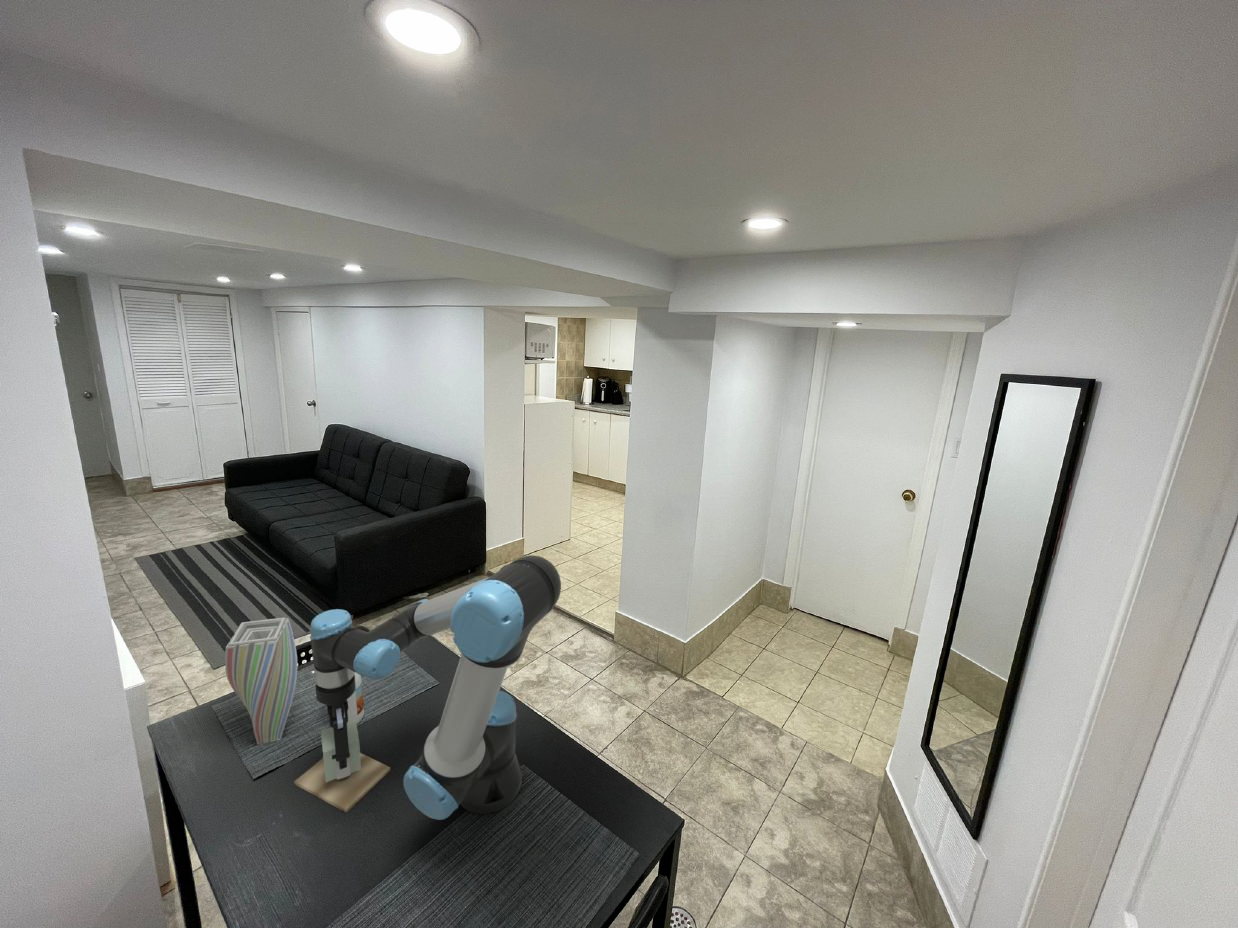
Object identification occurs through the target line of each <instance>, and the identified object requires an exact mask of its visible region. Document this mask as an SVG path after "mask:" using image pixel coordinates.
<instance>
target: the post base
mask: <svg viewBox="0 0 1238 928" xmlns="http://www.w3.org/2000/svg"><path fill="white" fill-rule="evenodd" d="M360 760H361V770H358V771H355V772H353V773H351V775H349V776H347V777H344V778H341V779H338V780H337V778H336V779H334V780H331V781H328V782H326V781H325V770H324V759H323V757H322V758H320V760H318V762H316V763H315V764H314V765H312V766H311V767H310V768H308V769H307V770H306V771H305V772H304V773H303V774H301V775H300V776H299V777H298V778H297V779H296V780H294V781H293V782H294V785H295V786H297V787H298V788H300V789H302V790H304V791H306V792H308V793H310V794H312V795H313V796H314V797H317V798H319V799H320V800H322V801H325V802H326V803H327V804H329V805H331V806H333V807H335V808H336V809H338V810H340V811H342V812H343V813H346V814H347V813H348V812H349V811H350V810H351V809H352V808H353V807H354V806H355V805H356V804H357V803H358V802H359V801H360V800H361V799H362V798H363V797H364V796H366V794H368V793H369V791H370V790H372V789H373V788H374V787H375V786H376V785H377V784H378V783H379V782H380V781H381V780H382V779H383V778H384V777H385V776H386V775H387V774H388V773H389V772H390V771H391V767H390V766H388V765H386V764H384V763H382V762H380V761H378V760H376V759H373V758H372V757H370V756H367V755H366V754H363V753H362V752H360Z"/></svg>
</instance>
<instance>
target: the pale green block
mask: <svg viewBox="0 0 1238 928" xmlns="http://www.w3.org/2000/svg"><path fill="white" fill-rule="evenodd" d="M357 725H358V724H356V720H353V721H350V722H347V733H348V745H349V753H350V757H349V759H350V772H351V773H353V772H355V771H358V770H361V760H360V753H361V749H360V738H359V732H358V727H357ZM320 736H321V745H322V747H321V748H322V754H323V755H322V758H323V759H324V770H325V781H326V782H328V781H331V780H334V779H336V778H337V776H336V763H335V759H333V760H332V755H335V754H336V752H335V742H334V731H333V727H331V726H330V727H329V728H325V729H323V730H322V729H321V730H320Z"/></svg>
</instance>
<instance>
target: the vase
mask: <svg viewBox="0 0 1238 928" xmlns="http://www.w3.org/2000/svg"><path fill="white" fill-rule="evenodd" d="M297 653H298V652H297V646H296V640H295V637H294V632H293V628H292V625H291V622H290V619H289V617H288V618H287V617H278V618H277V617H276V618H270V619H261V620H252V621H243V622H241V623H240V624H239V626H238V628H237V629H236V631H235V632H234V635H232V637H231V638H230V640H229V642H228V643H227V645H226V646H225V652H224V666H225V668H224V669H225V674H226V679H227V681H228V684H229V686H230V688H232V690H233V691H234V693H235V695H236V696H237V697H238V698H239V700H240V701H241V702H242V703H243V704H244V707H245V708H246V710H247V712H248V714H249V717H250V720H251V723H252V724H251V725H252V727H253V728H252V729H253V734H254V737H255V739H256V745H261V744H267V743H269V742H270V743H272V742H275V741H277V742H278V741H281V740H282V736H283V735H284V731H285V728H286V723H287V719H288V716H289V715H290V710H291V707H292V703H293V699H294V697H295V696H294V695H295V691H296V687H297V686H296V685H297V676H298V655H297Z"/></svg>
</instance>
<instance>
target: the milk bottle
mask: <svg viewBox="0 0 1238 928" xmlns="http://www.w3.org/2000/svg"><path fill="white" fill-rule="evenodd" d="M354 675H355V685H356V688H355V691H354V693H353V694H352V696H350V697H349V698H348V699H347V701H348V710H347V712H348V722H350V721H353V720H356V725H358V724H359V723H360V722H361V721H362V719H363V717H364V716H365V707H364V705H365V704H364V691H363V690H364V689H363V682H362V681H363V680H362V676H361V675H359V674H358V673H356V672H355V674H354ZM344 718H345V711H344Z"/></svg>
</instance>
